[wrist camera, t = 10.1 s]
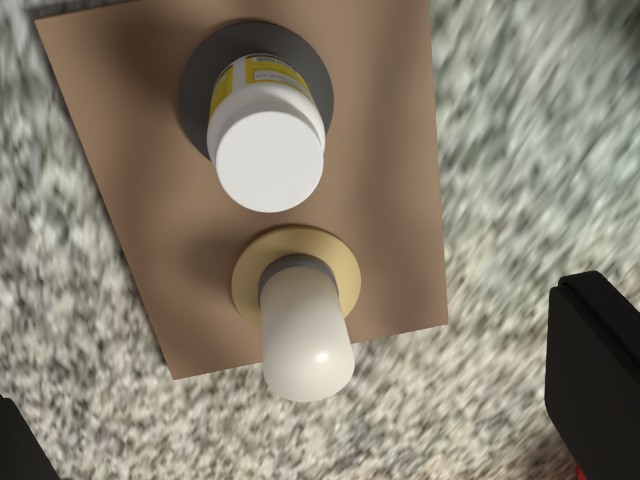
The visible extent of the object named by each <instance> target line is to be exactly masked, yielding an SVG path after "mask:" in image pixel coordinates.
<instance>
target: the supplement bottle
mask: <svg viewBox="0 0 640 480" xmlns="http://www.w3.org/2000/svg"><path fill="white" fill-rule="evenodd" d="M207 148H208V152H209V156H210V159H211V161H212V164H213V166H214V168H215V169H216V172H217V176H218V179H219V181H220V184H221V185H222V187H223V189H224V190H225V191H226V193H227V194H228V195H229V196H230V197H231V198H232V199H233V200H234V201H236V202H237V203H239V204H240V205H242V206H244V207H246V208H248V209H251V210H254V211H259V212H279V211H284V210H287V209H290V208H292V207H294V206H296V205H298V204H300V203H301V202H302V201H304V200H305V199H306V198H307V197H308V196H310V194H311V193H312V192H313V191H314V189H315V188H316V186H317V184H318V183H319V180H320V178H321V175H322V171H323V161H324V159H323V153H324V148H325V130H324V125H323V121H322V118H321V116H320V113H319V111H318V109H317V107H316V105H315V102H314V100H313V98H312V95H311V93H310V91H309V89H308V86H307V84H306V82H305V80H304V78H303V77H302V75H301V74H300V73H299V71H298V70H297V69H296V68H295V67H294V66H293V65H291V64H290V63H289V62H287V61H286V60H284V59H282V58H280V57H277V56H274V55H270V54H251V55H247V56H244V57H241V58H239V59H237V60H236V61H234V62H233V63H231V64H230V65H229V66H228V67H227V68H226V69H225V70H224V71H223V72H222V73H221V74H220V76H219V77H218V79H217V81H216V83H215V86H214V89H213V94H212V100H211V108H210V115H209V123H208V129H207Z"/></svg>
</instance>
